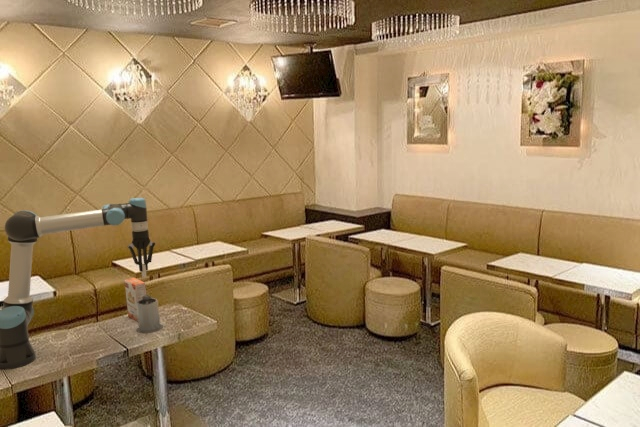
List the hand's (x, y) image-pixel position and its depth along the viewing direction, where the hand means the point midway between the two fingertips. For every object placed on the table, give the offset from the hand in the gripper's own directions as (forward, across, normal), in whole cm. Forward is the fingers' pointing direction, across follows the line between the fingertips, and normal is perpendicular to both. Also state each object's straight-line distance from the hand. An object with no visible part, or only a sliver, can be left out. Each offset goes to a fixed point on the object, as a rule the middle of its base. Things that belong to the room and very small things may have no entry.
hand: (144, 277), depth 258 cm
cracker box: (+27, 0, +20) cm, 34 cm away
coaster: (+27, 0, 0) cm, 27 cm away
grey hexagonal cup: (+26, 0, 0) cm, 26 cm away
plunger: (+22, 0, 0) cm, 22 cm away
